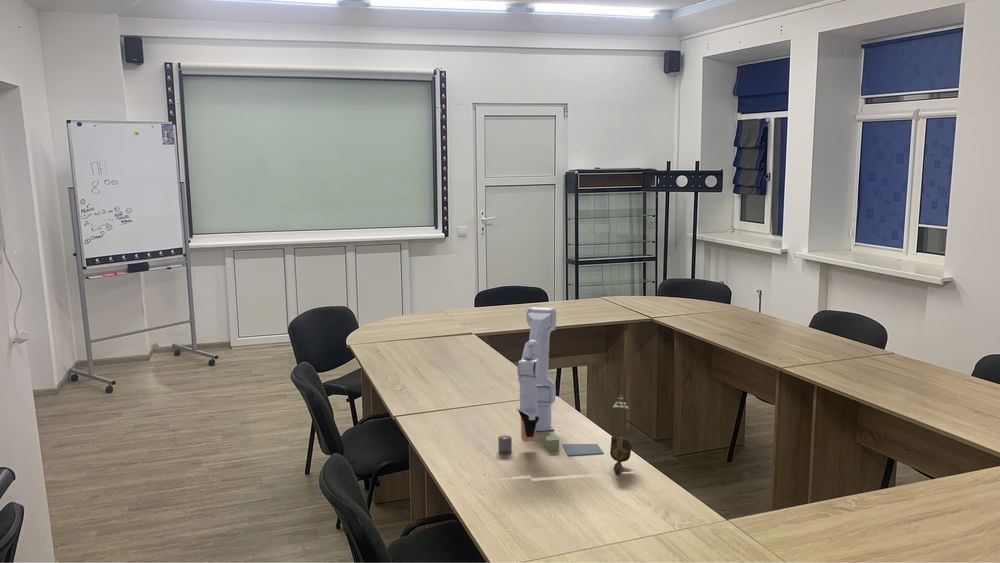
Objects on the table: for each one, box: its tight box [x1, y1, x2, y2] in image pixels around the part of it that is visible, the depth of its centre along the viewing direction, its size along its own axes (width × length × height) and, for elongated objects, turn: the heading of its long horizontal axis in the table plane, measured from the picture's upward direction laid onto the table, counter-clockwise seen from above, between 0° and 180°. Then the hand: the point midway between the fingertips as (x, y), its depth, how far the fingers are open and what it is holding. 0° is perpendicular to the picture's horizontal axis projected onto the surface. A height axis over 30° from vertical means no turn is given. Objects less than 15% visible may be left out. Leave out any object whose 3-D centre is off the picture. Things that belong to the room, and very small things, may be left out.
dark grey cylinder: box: [498, 434, 513, 455], centre depth 245 cm, size 4×4×5 cm
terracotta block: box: [520, 418, 537, 443], centre depth 246 cm, size 4×4×6 cm
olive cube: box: [544, 435, 560, 452], centre depth 247 cm, size 4×4×4 cm
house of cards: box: [612, 394, 629, 410], centre depth 286 cm, size 9×9×8 cm
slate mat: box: [561, 443, 605, 457], centre depth 249 cm, size 14×12×1 cm
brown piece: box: [609, 436, 633, 477], centre depth 229 cm, size 7×13×10 cm, turn 2°
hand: (528, 433), depth 246 cm, fingers closed on terracotta block, 4 cm apart
